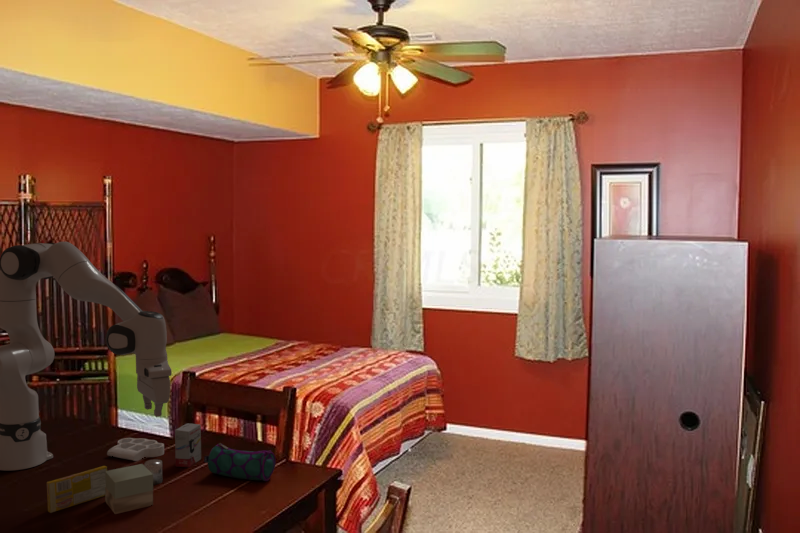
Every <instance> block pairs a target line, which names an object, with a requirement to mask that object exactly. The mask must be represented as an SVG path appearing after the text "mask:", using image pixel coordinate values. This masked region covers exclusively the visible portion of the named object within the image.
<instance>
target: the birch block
mask: <svg viewBox="0 0 800 533" xmlns="http://www.w3.org/2000/svg"><path fill="white" fill-rule="evenodd" d="M104 497H105V499H104V500H105V503H106V505H107V506H108V507H109V508H110V510H111V511H112V513H114V515H117V514H121V513H125V512H130V511H135V510H138V509H142V508H147V507H152V506H154V490H153V491H148V492H144V493H139V494H135V495H130V496H126V497H121V498H117V499H115V498H114V497H113V496H112V494H111V493H110V492H109V491H108V489H107V488H106V487H105V496H104ZM151 505H152V506H151Z"/></svg>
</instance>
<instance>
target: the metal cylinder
mask: <svg viewBox="0 0 800 533" xmlns="http://www.w3.org/2000/svg"><path fill="white" fill-rule="evenodd" d="M143 465H144V466H145V467H146V468H147V469H148V470H149V471H150V472H151V473H152V474H153V486H156V485H160V484H162V483H163V480H164V479H163V460H161V459H158V458H157V459H156V458H155V459H149V460H146V461H145V462H144V464H143Z"/></svg>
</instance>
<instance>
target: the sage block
mask: <svg viewBox="0 0 800 533" xmlns="http://www.w3.org/2000/svg"><path fill="white" fill-rule="evenodd" d="M105 483H106V488H107V489H108V491H109V492H110V493H111V494H112V496H113V497H114V498H115V499H117V498H121V497H126V496H130V495H135V494H139V493H144V492H148V491H153V492H154V485H153V474H152V473H151V472H150V471H149V470H148V469H147V468H146V467H145V464H143V463H139V464H135V465H131V466H130V465H128V466H123V467H119V468H116V469H115V468H114V469H109V470H107V471H105Z"/></svg>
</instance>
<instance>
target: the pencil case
mask: <svg viewBox="0 0 800 533" xmlns="http://www.w3.org/2000/svg"><path fill="white" fill-rule="evenodd" d="M276 462H277V461H276V455H275V453H274V452H272V450H271V449H270V450H265V449H264V450H257V451H255V450H254V451H253V450H252V451H250V450H239V449H234V448H230V447H227V446H226V445H225V444H223V443H221V442H219V443H217V444H216V445H214V446H213V447H212V448H211V450H210V452H209V454H208V455H204V458H203V463H206V464H207V467H208V470H209V471H210V473H212V474H214V475H215V474H216V475H220V476H224V477H228V478H233V479H240V480H249V481H263V482H268V481H269V480H270V479H271V476H273V475H272V474H274V471H275V469H276Z"/></svg>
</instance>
